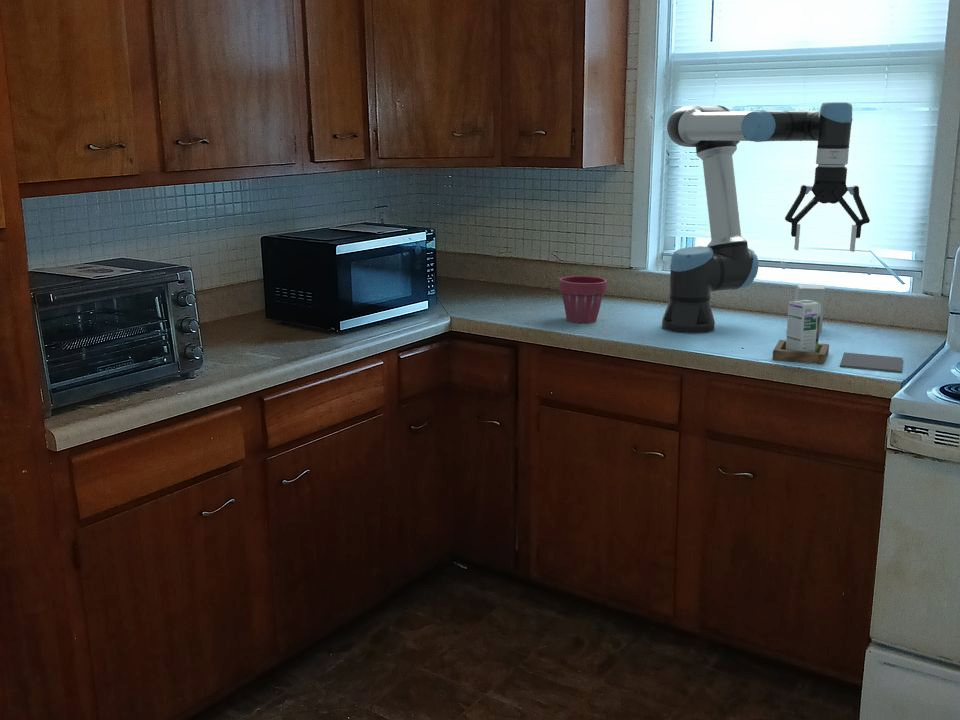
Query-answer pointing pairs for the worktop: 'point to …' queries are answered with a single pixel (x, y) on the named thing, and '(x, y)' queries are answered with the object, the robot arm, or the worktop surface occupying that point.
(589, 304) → the plant pot
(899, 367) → the charcoal mat
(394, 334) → the worktop surface
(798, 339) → the syrup box
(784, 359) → the walnut collar
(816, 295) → the supplement box
